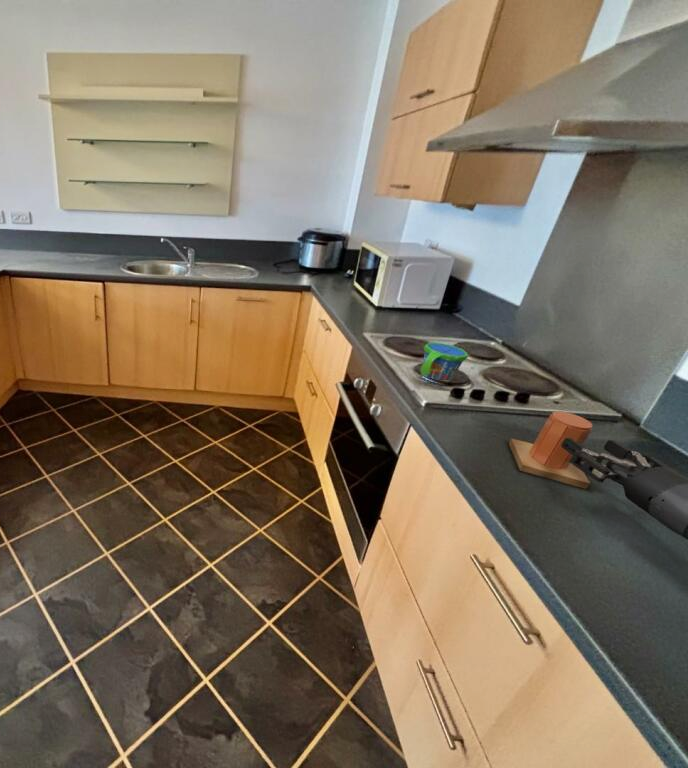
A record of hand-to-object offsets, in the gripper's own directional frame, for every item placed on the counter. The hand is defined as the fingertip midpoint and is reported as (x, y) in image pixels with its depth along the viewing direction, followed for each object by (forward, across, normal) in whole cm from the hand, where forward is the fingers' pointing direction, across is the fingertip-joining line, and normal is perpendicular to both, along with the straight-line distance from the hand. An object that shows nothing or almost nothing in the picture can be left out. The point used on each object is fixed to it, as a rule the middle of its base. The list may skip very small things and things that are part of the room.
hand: (586, 442), depth 80 cm
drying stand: (+4, 0, +9) cm, 10 cm away
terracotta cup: (+4, 0, +8) cm, 9 cm away
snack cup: (+44, +2, +9) cm, 44 cm away
